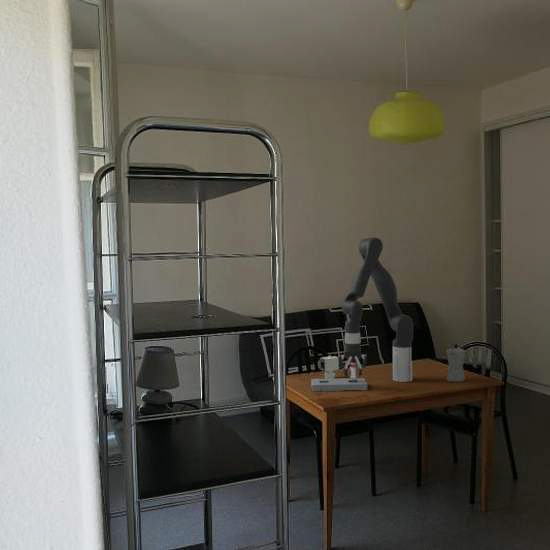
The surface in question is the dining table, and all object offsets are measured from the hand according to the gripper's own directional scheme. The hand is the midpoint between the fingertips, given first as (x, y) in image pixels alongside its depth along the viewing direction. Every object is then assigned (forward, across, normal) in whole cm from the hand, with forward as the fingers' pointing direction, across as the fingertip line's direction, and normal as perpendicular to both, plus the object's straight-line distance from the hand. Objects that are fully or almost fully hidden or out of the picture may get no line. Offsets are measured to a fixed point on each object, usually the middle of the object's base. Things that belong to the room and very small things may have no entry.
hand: (353, 376), depth 301 cm
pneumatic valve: (+6, +10, -19) cm, 22 cm away
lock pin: (+6, 0, 0) cm, 6 cm away
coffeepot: (+6, -53, -12) cm, 55 cm away
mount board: (+6, +7, 0) cm, 9 cm away
